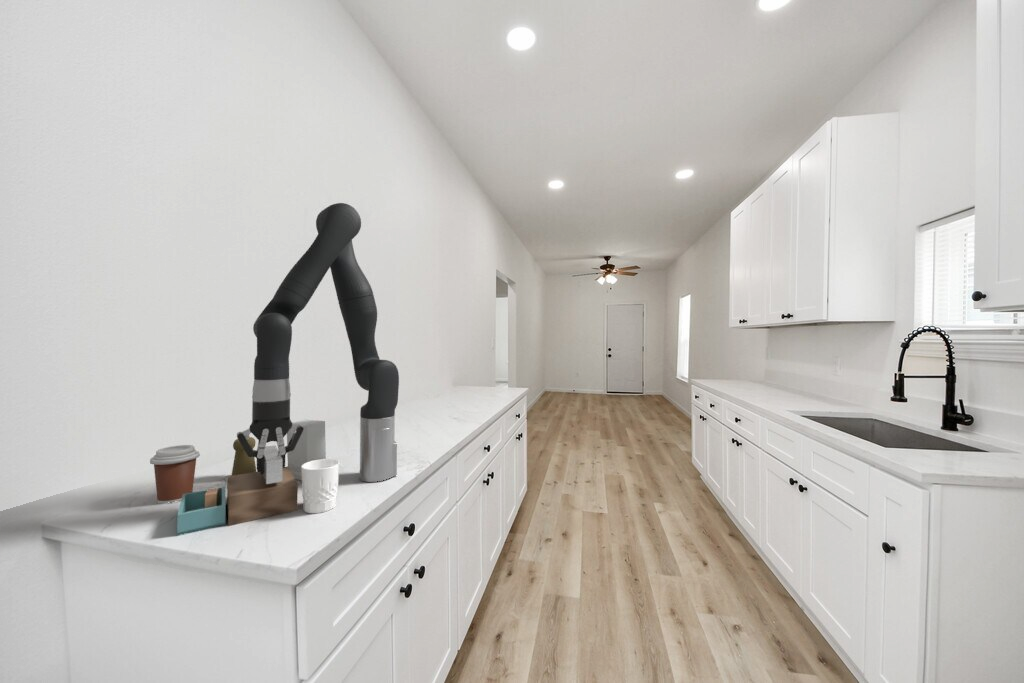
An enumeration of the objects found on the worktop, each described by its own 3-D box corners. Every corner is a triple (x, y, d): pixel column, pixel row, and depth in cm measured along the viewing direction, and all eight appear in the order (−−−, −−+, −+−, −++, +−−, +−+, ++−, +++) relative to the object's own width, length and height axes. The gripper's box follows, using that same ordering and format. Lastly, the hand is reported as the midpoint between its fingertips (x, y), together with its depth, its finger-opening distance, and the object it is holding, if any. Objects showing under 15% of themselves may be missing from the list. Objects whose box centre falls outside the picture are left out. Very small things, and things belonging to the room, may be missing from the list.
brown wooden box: (287, 489, 98) (288, 466, 98) (297, 510, 86) (297, 483, 86) (227, 501, 90) (227, 476, 90) (228, 525, 78) (228, 496, 78)
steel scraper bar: (275, 465, 96) (275, 445, 96) (282, 481, 85) (282, 458, 85) (260, 467, 94) (261, 447, 94) (266, 484, 83) (266, 461, 83)
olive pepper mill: (243, 481, 103) (243, 441, 103) (225, 479, 105) (225, 439, 105) (262, 474, 109) (262, 435, 109) (244, 472, 110) (245, 434, 111)
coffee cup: (179, 489, 97) (180, 442, 98) (208, 492, 96) (209, 444, 96) (138, 504, 88) (139, 452, 89) (169, 508, 87) (170, 455, 87)
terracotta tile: (218, 487, 87) (207, 489, 86) (216, 493, 84) (205, 495, 83) (218, 504, 87) (207, 506, 86) (216, 511, 84) (204, 513, 83)
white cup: (292, 511, 85) (293, 466, 85) (321, 498, 93) (322, 457, 93) (318, 517, 82) (319, 471, 82) (346, 503, 90) (347, 461, 90)
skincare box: (326, 475, 109) (327, 420, 109) (306, 482, 103) (306, 425, 103) (306, 471, 112) (307, 418, 112) (285, 478, 106) (285, 422, 106)
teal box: (224, 503, 89) (224, 486, 89) (225, 524, 79) (225, 505, 79) (182, 512, 85) (182, 494, 85) (177, 535, 74) (177, 515, 74)
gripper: (302, 394, 97) (301, 462, 96) (234, 398, 88) (233, 473, 88) (308, 397, 91) (307, 470, 91) (235, 402, 82) (234, 482, 82)
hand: (270, 471), depth 89 cm, fingers closed on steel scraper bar, 3 cm apart
